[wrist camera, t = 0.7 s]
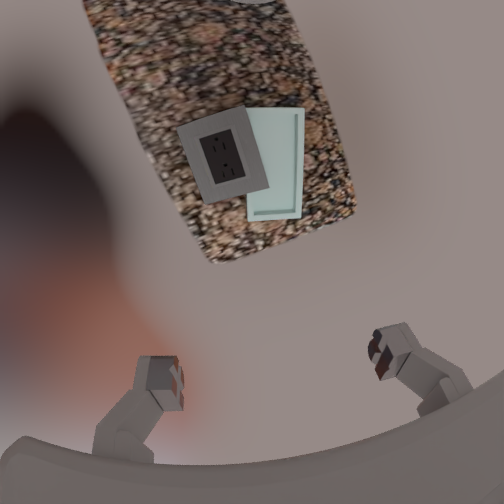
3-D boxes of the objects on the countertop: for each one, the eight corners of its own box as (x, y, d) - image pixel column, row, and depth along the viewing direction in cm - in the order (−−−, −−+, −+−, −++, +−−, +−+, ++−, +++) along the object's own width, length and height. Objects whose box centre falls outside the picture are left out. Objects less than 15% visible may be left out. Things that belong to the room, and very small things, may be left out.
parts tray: (242, 107, 37) (243, 108, 36) (300, 107, 38) (304, 108, 36) (246, 216, 47) (247, 221, 46) (298, 213, 48) (300, 217, 46)
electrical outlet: (180, 125, 38) (175, 128, 36) (245, 104, 36) (244, 104, 34) (207, 199, 45) (204, 205, 43) (269, 183, 43) (269, 188, 41)
